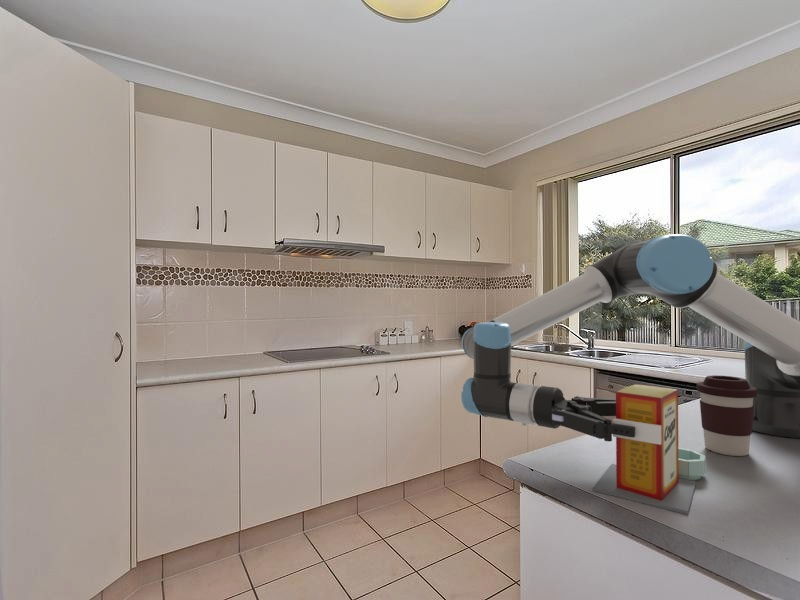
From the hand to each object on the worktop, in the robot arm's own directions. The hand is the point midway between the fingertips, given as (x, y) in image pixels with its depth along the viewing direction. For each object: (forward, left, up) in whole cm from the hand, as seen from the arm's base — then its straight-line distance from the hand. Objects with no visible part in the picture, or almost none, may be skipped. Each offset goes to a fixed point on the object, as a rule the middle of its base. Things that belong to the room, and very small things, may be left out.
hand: (667, 424), depth 70 cm
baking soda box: (+3, 0, -11) cm, 11 cm away
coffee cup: (-7, -30, -11) cm, 33 cm away
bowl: (-1, -11, -11) cm, 15 cm away
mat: (+3, 0, -11) cm, 11 cm away
